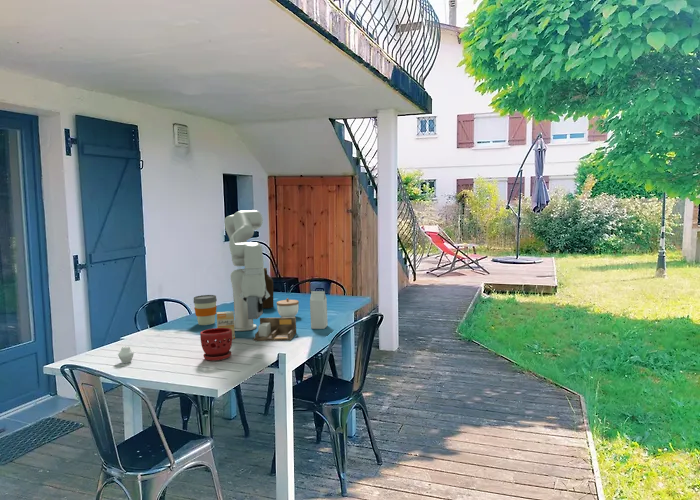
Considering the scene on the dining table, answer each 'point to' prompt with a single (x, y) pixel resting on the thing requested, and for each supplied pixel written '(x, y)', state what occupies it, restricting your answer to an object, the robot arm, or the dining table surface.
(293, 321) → the rack
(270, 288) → the olive oil
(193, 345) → the dining table surface
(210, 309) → the reusable coffee cup
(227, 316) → the supplement box
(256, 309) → the panel
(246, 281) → the robot arm
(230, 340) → the plant pot
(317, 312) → the milk carton
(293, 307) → the lidded bowl
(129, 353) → the white faceted vase
